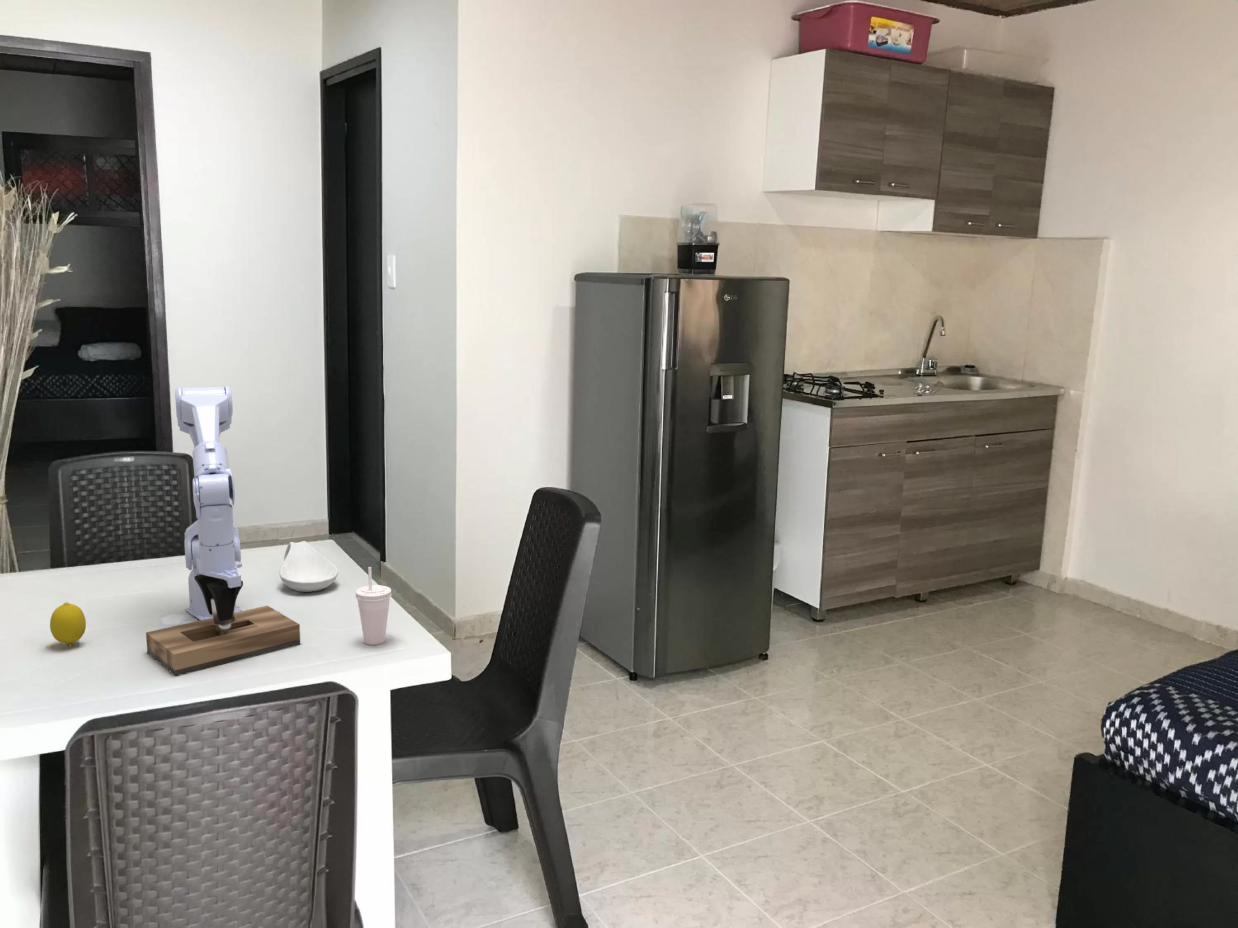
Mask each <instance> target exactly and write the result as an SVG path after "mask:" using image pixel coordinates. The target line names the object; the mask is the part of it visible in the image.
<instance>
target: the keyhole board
mask: <svg viewBox="0 0 1238 928" xmlns="http://www.w3.org/2000/svg"><path fill="white" fill-rule="evenodd" d="M300 627H301V626H300V623H298V622H296V621H295V620H293V619H291V618H290V617H288V616H286V615H285V614H283V613H282V612H279V611H277V610H276V609H274V608H273V607H270V606H269V605H264V606H259V607H256V608H250V609H246V610H243V611H240V612H236V613H235V621H234V622H232V623H231V630H227V631H224V633H225V635H221V636H216V637H212V636H213V635H214V634H216V633H219V625H216V624H214V622H213V618H209V619H204V620H196V621H192V622H187V623H182V624H178V625H174V626H168V627H164V628H160V629H156V630H151V631H147V632H145V639H146V651H147V652H146V653H147V654H148V655H149V656H150V655H151V656H150V657H151V658H153V657H154V658H155V659H156V660H157V663H159V662H160V663H161V664H162V665H161V664H160V663H159V664H160V665H161V666H163V667H164V668H165V667H166V668H167V669H166V668H165V669H166V670H167V671H169V670H170V671H171V672H172V673H173V674H172V673H171V672H170V671H169V672H170V673H171V674H172V675H173V676H175V675H178V676H180V675H179V674H182V675H184V674H185V673H186V674H189V672H190V673H193V672H197V671H200V670H204V669H209V668H212V667H217V666H219V665H220V666H221V665H225V664H228V663H232V662H236V661H239V660H244V659H247V658H251V657H252V658H253V657H255V656H260V655H265V654H268V653H272V652H275V651H280V650H283V649H286V648H291V647H296V646H299V645H301V631H300V630H301V628H300ZM154 658H153V659H154ZM155 659H154V660H155ZM156 660H155V661H156ZM186 674H185V675H186Z"/></svg>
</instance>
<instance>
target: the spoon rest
mask: <svg viewBox="0 0 1238 928" xmlns="http://www.w3.org/2000/svg"><path fill="white" fill-rule="evenodd" d="M338 575H339V570H338V568H337V566H336V565H335V564H334V563H332V561H330V560H329V559H328V558H326V557H325V556H324V555H323V554H322V553H320V552H319V551H318V550H316V549H315V548H314V547H313V546H312V545H311V544H310V543H308V541H305V540H303V541H299V542H293V541H290V542H289V543H288V545H287V547H286V549H285V553H284V558H283V563H282V564H281V567H280V569H279V577H280V579H281V581H282V582H283V584H284V585H285V586H286V587H288V588H290V589H291V590H294V591H297V592H300V591H301V592H302V593H304V592H305V593H312V591H313V592H318V591H321V590H324V589H326V588H328V587H329V586H331V585H332V584H333V582H335V580H336V579H337V577H338Z"/></svg>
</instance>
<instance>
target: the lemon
mask: <svg viewBox="0 0 1238 928" xmlns="http://www.w3.org/2000/svg"><path fill="white" fill-rule="evenodd" d="M49 621H50V622H49V628H50V632H51V635H52V637H53V638H54V640H56V641H57V642H59V643H62V644H65V645H66V646H68V645H71V646H73V644H74V643H76V642H78V641H79V640H80V639H81V638H82V637H83V636H84V634H85V631H86V627H87V622H86V621H87V619H86V616H85V614H84V612H83V610H82V608H80V607H79V606H78V605H76V604H73V603H69V602H68V601H67V602H66V601H65V602H64V603H63V604H61V605H59V606H58V607H56V608H55V609H54V611H53V612H52V613H51V617H50V620H49Z"/></svg>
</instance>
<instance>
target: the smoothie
mask: <svg viewBox="0 0 1238 928" xmlns="http://www.w3.org/2000/svg"><path fill="white" fill-rule="evenodd" d="M367 568H368V569H367V570H368V571H367V572H368V576H367V577H368V585H366V586H365V585H364V586H362V587H358V588H357V589H356V590H355V598H356V599H357V603H358V605H357V606H358V610H359V616H360V624H361V629H362V637H363V642H364V644H366V645H369V646H375V645H377V646H378V645H382V644H383V643H385V642H386V634H387V627H388V626H387V625H388V619H389V618H388V615H389V607H390V598H391V597H392V589H391V587H389V586H385V585H380V584H374V585H373V583H372V582H373V579H372V578H373V576H372V575H373V574H372V573H373V572H372V570H373V569H372V566H368V567H367Z"/></svg>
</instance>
